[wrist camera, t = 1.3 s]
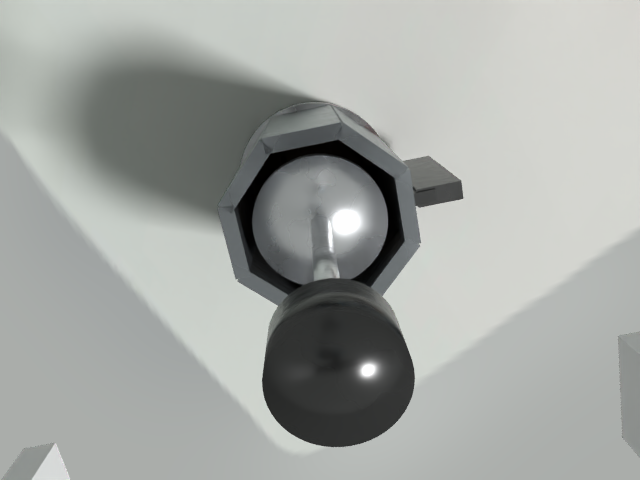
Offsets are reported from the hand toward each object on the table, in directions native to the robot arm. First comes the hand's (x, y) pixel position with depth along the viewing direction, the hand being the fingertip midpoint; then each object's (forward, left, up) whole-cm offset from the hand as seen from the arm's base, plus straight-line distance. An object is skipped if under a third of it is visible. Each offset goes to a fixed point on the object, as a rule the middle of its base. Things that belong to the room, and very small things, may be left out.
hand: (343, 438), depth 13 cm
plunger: (0, 0, -18) cm, 18 cm away
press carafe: (0, +1, -29) cm, 29 cm away
